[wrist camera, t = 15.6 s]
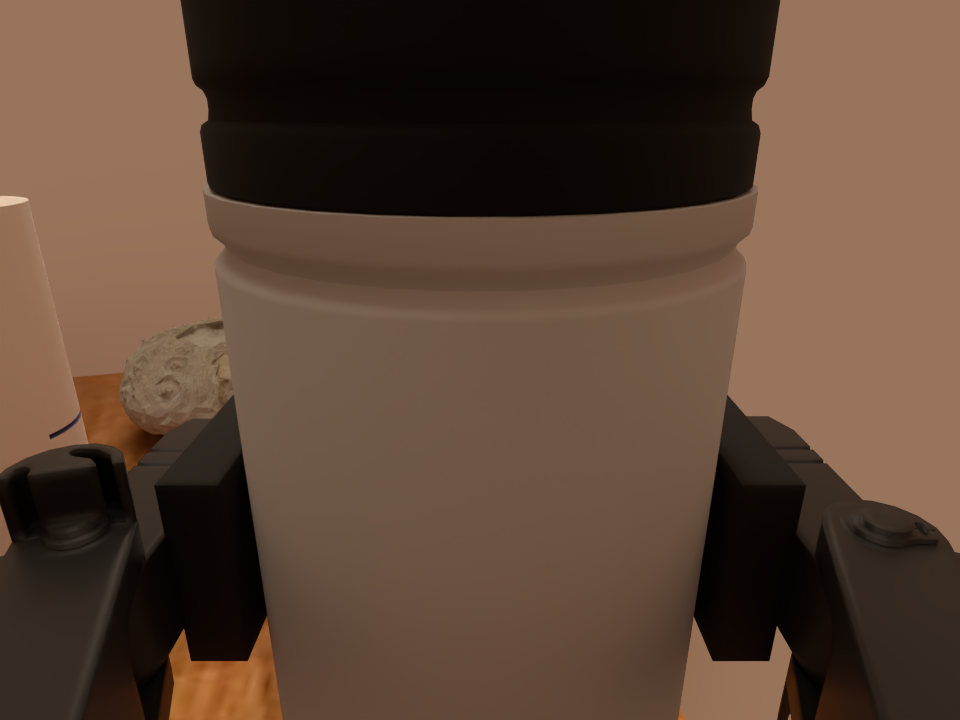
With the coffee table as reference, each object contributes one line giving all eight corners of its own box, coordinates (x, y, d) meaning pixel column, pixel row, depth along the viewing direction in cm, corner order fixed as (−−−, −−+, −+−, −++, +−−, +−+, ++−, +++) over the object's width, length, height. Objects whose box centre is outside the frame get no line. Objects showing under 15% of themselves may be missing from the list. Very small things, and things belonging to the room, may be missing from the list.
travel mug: (310, 1286, 10) (-93, -472, 3) (343, 847, 16) (236, -82, 9) (687, 1213, 11) (1086, -363, 4) (583, 817, 17) (659, -68, 10)
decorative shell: (353, 418, 66) (346, 325, 62) (184, 491, 53) (163, 380, 50) (257, 375, 77) (246, 294, 73) (97, 427, 64) (75, 332, 60)
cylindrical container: (146, 572, 44) (60, 197, 35) (67, 652, 37) (-63, 216, 28) (53, 561, 45) (-53, 194, 36) (-39, 637, 38) (-197, 212, 30)
